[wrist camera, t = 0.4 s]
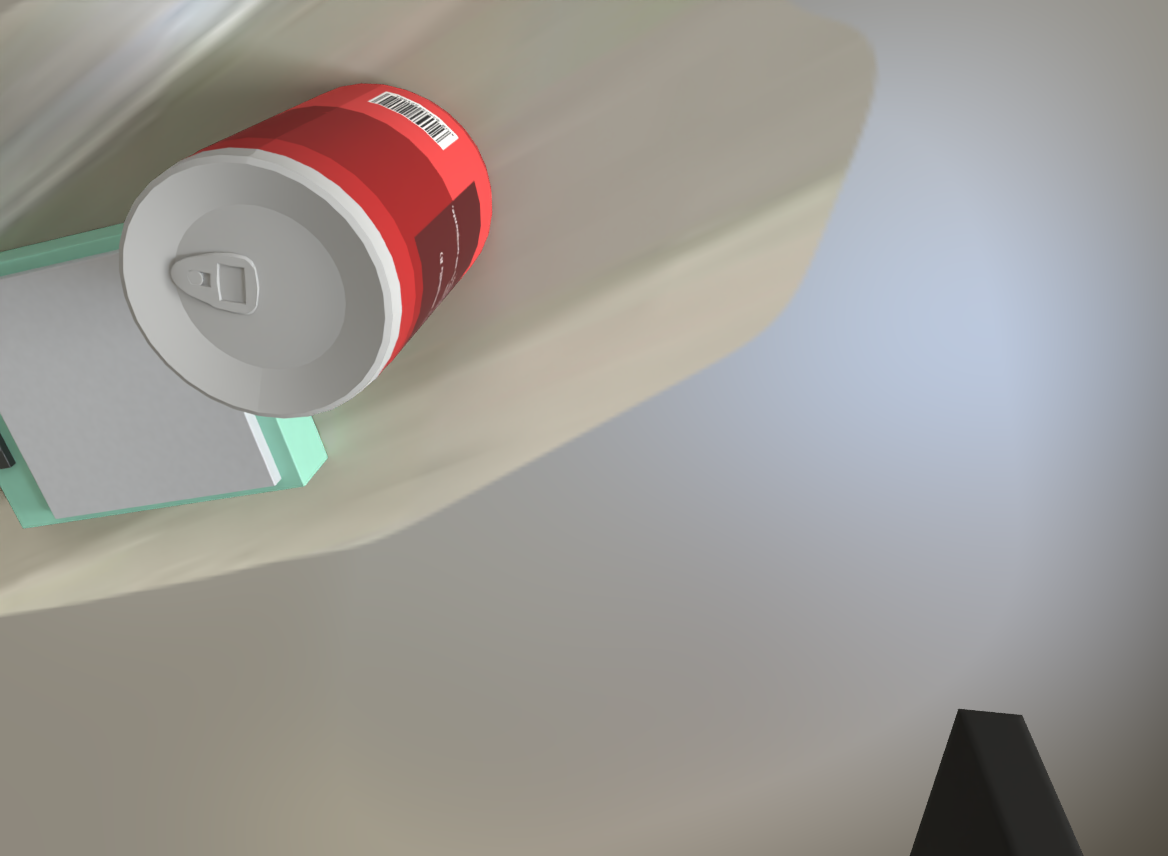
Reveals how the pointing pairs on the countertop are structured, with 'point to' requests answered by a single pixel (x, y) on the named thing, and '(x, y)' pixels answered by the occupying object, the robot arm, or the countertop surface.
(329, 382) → the canned food
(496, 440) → the countertop surface
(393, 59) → the countertop surface
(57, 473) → the scale
